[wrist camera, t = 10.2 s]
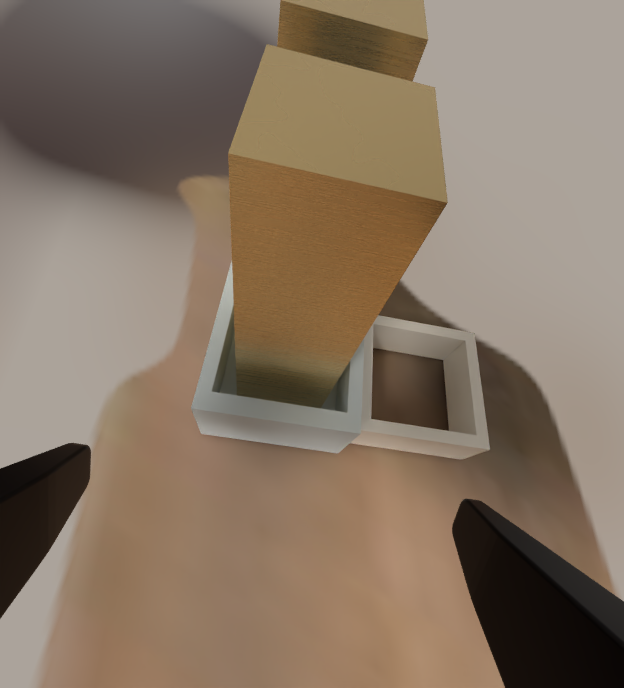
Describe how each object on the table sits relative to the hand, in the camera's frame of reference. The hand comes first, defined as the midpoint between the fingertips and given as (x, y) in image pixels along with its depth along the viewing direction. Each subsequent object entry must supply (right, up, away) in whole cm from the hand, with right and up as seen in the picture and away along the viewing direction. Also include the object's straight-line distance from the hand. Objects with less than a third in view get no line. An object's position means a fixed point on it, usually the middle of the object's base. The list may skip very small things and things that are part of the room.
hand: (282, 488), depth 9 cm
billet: (-1, +2, +10) cm, 10 cm away
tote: (+6, +1, +12) cm, 13 cm away
